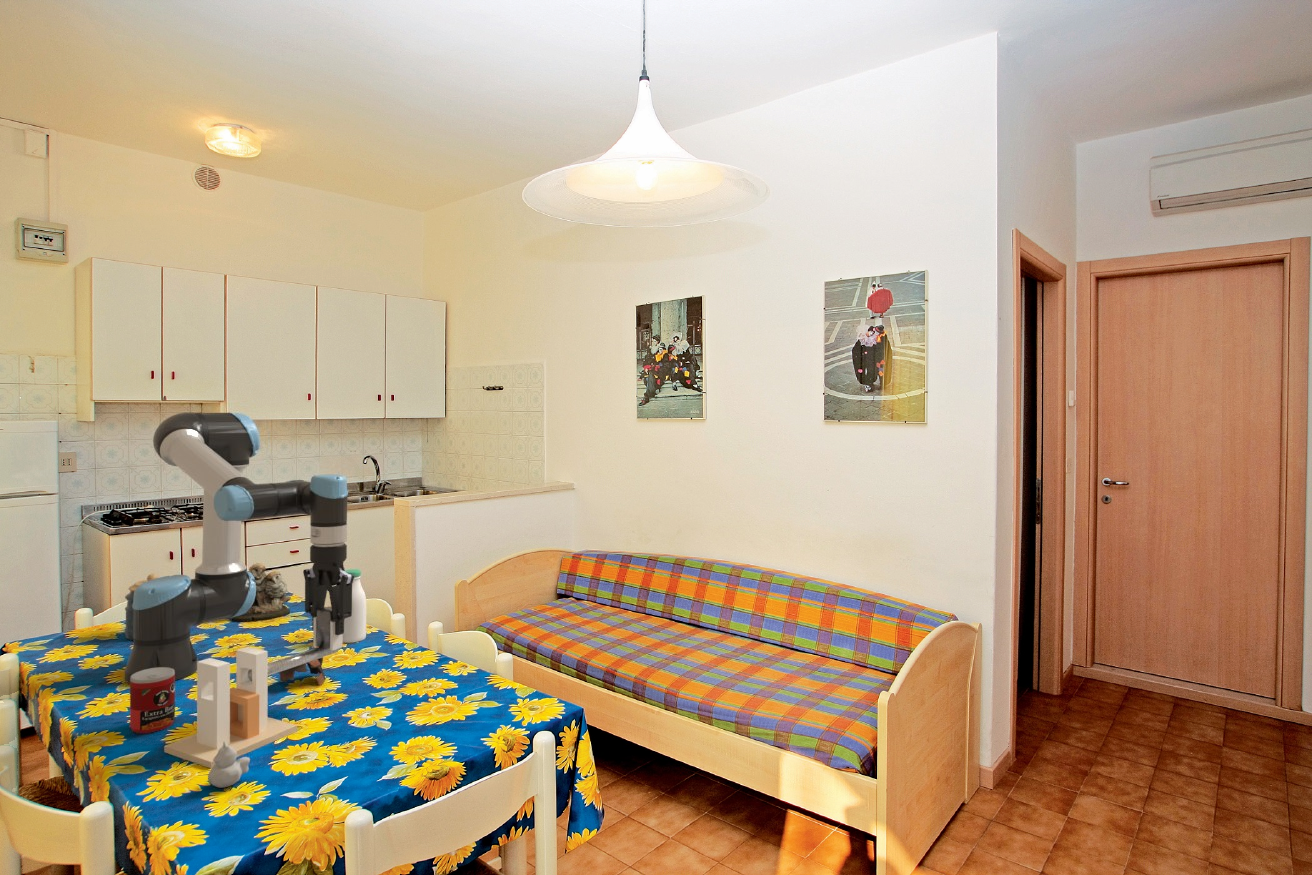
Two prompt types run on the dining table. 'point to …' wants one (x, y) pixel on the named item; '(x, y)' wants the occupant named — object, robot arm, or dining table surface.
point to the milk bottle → (356, 612)
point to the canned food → (152, 699)
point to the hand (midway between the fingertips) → (327, 646)
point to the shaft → (321, 651)
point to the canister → (130, 609)
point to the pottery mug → (314, 668)
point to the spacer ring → (244, 713)
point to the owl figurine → (266, 596)
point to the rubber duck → (227, 767)
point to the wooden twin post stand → (228, 709)
